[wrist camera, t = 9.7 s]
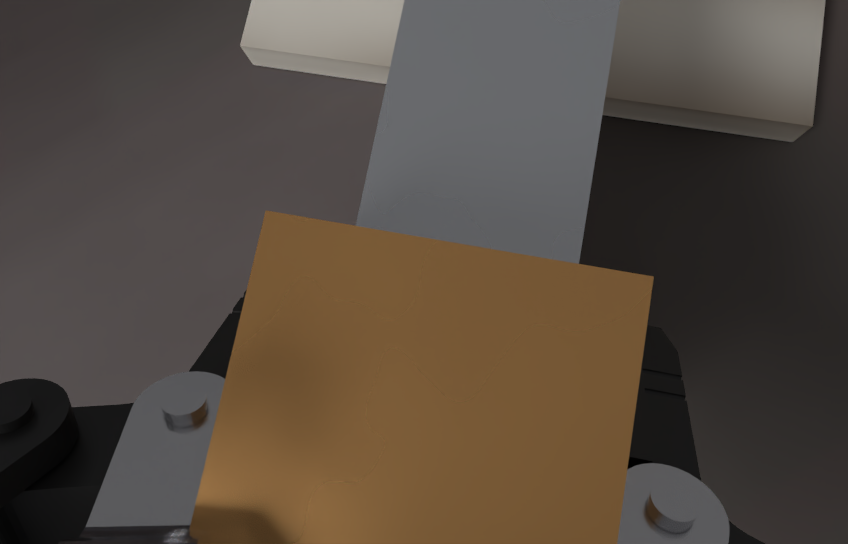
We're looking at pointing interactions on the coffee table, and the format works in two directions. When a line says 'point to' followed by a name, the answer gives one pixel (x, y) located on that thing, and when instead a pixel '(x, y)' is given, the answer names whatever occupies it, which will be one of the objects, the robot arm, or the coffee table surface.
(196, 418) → the robot arm
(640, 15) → the base board
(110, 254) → the coffee table surface
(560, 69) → the shaft
